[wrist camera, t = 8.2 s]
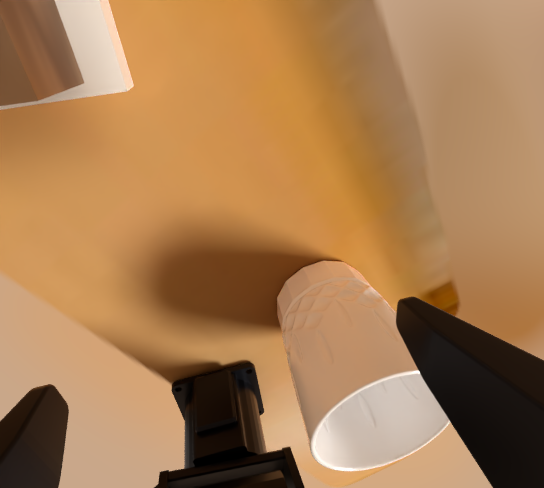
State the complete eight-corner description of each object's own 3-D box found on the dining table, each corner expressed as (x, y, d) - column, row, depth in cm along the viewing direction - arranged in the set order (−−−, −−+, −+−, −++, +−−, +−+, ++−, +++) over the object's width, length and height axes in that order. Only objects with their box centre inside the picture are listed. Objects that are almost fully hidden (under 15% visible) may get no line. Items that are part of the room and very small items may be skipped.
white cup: (382, 305, 27) (471, 425, 18) (295, 351, 27) (343, 488, 19) (350, 232, 23) (447, 344, 14) (248, 288, 23) (283, 428, 15)
